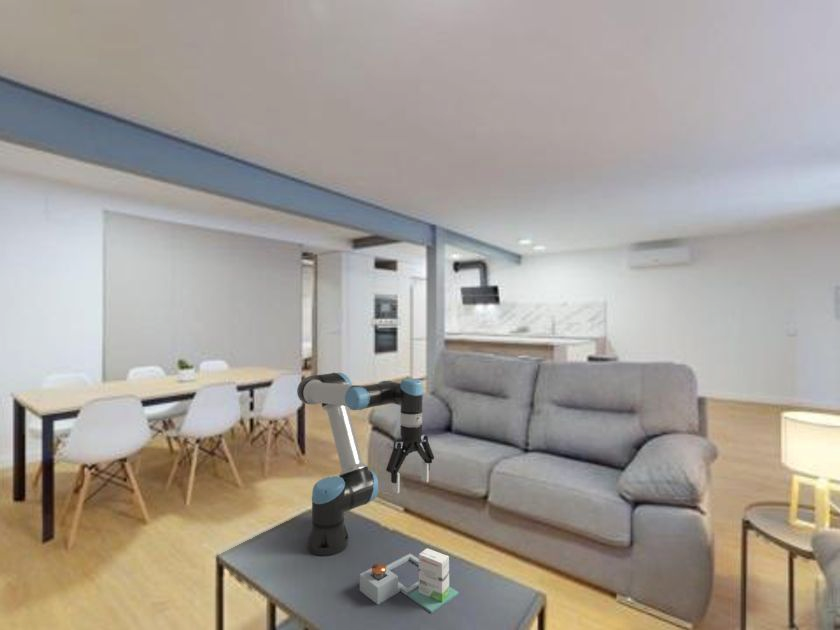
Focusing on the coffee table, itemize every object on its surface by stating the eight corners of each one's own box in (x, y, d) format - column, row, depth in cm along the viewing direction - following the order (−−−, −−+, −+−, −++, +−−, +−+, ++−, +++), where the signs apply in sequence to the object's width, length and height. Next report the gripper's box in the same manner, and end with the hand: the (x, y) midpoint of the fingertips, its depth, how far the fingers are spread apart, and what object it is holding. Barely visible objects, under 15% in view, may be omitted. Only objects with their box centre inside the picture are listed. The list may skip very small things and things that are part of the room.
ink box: (449, 594, 131) (450, 555, 131) (441, 603, 127) (441, 563, 127) (426, 584, 136) (426, 546, 135) (417, 592, 131) (417, 554, 131)
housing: (354, 585, 135) (354, 570, 135) (410, 556, 152) (410, 542, 152) (384, 609, 125) (384, 592, 125) (440, 575, 141) (440, 560, 141)
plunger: (368, 586, 133) (368, 567, 133) (380, 580, 136) (380, 561, 136) (377, 593, 130) (377, 573, 130) (388, 586, 133) (389, 567, 133)
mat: (408, 596, 130) (408, 594, 130) (435, 579, 139) (435, 577, 139) (431, 613, 123) (431, 611, 123) (459, 594, 132) (459, 592, 132)
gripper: (390, 433, 136) (390, 500, 136) (444, 420, 153) (443, 479, 153) (375, 429, 141) (375, 493, 141) (429, 416, 159) (428, 473, 159)
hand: (411, 486), depth 147 cm, fingers open, 13 cm apart
